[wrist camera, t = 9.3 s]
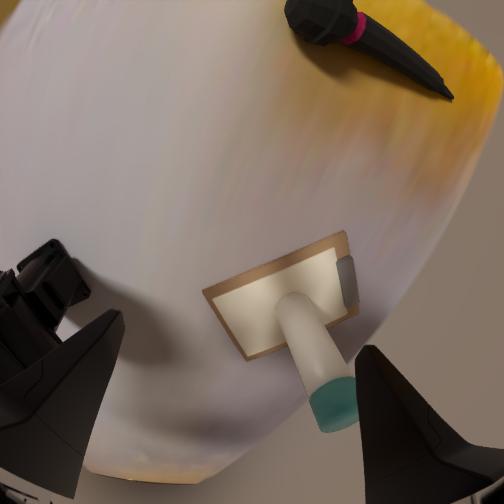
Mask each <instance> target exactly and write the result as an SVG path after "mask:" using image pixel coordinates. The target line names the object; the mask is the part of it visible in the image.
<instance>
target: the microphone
mask: <svg viewBox="0 0 504 504" xmlns="http://www.w3.org/2000/svg"><path fill="white" fill-rule="evenodd" d="M284 12H285V15H286V18H287V21H288V24H289V27H290V28H292V29H293V30H294V31H295V32H296V33H298V34H300V35H301V36H303V37H304V41H305V42H308V43H311V44H315V45H320V46H326V45H327V44H329V43H337V42H339V41H341V42H342V44H344V45H347V46H349V47H351V48H354V49H356V50H358V51H360V52H363V53H365V54H367V55H369V56H371V57H373V58H375V59H377V60H379V61H381V62H383V63H385V64H387V65H389V66H391V67H392V68H394V69H396V70H398V71H400V72H401V73H403V74H405V75H406V76H408V77H410V78H411V79H413V80H415V81H416V82H418V83H420V84H421V85H423V86H424V87H426V88H427V89H429V90H431V91H435V92H438V93H441V94H442V95H444V96H446V97H447V98H449V99H451V100H452V99H454V96H453V95H452V93H451V92H450V91H449V90H448V88H447V87H446V86H445V85H444V81H443V78H441V76H440V75H439V73H438V72H437V71H436V70H435V69H434V68H433V67H432V66H431V65H430V64H428V63H427V62H426V61H425V60H424V59H423V58H422V57H421V56H420V55H419V54H417V53H416V52H415V51H414V50H413V49H412V48H410V47H409V46H408V45H407V44H406V43H404V42H403V41H402V40H401V39H399V38H398V37H397V36H395V35H394V34H393V33H392V32H390V31H389V30H388V29H386V28H385V27H383V26H382V25H381V24H379V23H378V22H376V21H375V20H373V19H372V18H370V17H369V16H367V15H366V14H364V13H363V12H357V9H356V7H355V6H354V4H353V0H287V1H286V4H285V8H284Z"/></svg>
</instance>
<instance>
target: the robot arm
mask: <svg viewBox="0 0 504 504" xmlns="http://www.w3.org/2000/svg"><path fill="white" fill-rule="evenodd" d="M52 243H53V244H54V246H53V245H52ZM21 267H22V268H21ZM17 270H18V271H19V275H18V276H17V277H15V273H14V271H13V269H12V268H11V269H10V270H8V271H5V272H3V271H0V504H53V503H52V502H51V497H52V493H56V494H59V495H62V496H64V497H67V498H71V499H74V496H75V492H76V487H77V483H78V479H79V475H80V471H81V467H82V464H83V460H84V456H85V452H86V449H87V446H88V442H89V439H90V436H91V432H92V429H93V426H94V423H95V420H96V417H97V414H98V411H99V408H100V405H101V402H102V400H103V397H104V394H105V391H106V389H107V386H108V383H109V380H110V378H111V375H112V373H113V370H114V367H115V364H116V360H117V356H118V353H119V349H120V345H121V342H122V338H123V335H124V331H125V325H124V320H123V315H122V312H121V311H120V310H116V309H109V310H108V311H106V312H105V313H103V314H102V315H100V316H99V317H98V318H96V319H95V320H93V321H92V322H91V323H89V324H88V325H86V326H85V327H84V328H82V329H81V330H79V331H78V332H77V333H75V334H74V335H72V336H71V337H70V338H68V339H67V340H66V341H64V342H62V340H61V339H60V338H59V337H58V336H57V334H56V331H57V329H58V327H59V325H60V323H61V321H62V319H63V317H64V315H65V313H66V311H67V309H68V307H70V306H72V305H74V304H76V303H79V302H81V301H83V300H85V299H87V298H89V296H90V294H91V291H90V289H89V288H88V287H87V285H86V284H85V283H84V281H83V280H82V278H81V277H80V275H79V274H78V272H77V271H76V269H75V268H74V266H73V265H72V263H71V262H70V260H69V259H68V257H67V256H66V254H65V253H64V251H63V250H62V248H61V247H60V245H59V243H58V242H57V240H55V239H51V240H49V241H48V242H46V243H45V244H44V245H42V246H41V247H39V248H38V249H37V250H35V251H34V252H33V253H31V254H30V255H29V256H27V257H26V258H25V259H23V260H22V261H21V262H19V264H18V265H17ZM84 292H86V293H87V294H86V293H84ZM355 379H356V398H357V406H358V414H359V422H360V430H361V439H362V450H363V462H364V476H365V498H366V499H365V500H366V504H504V449H497V448H489V447H482V446H476V445H473V444H470V443H468V442H467V441H465V440H464V439H463V438H462V437H461V436H460V435H459V434H458V433H457V432H456V431H455V430H454V429H453V428H452V427H450V426H449V425H448V424H447V423H446V422H445V421H444V420H443V419H442V418H441V417H440V416H439V415H438V414H437V413H436V411H434V409H433V408H432V407H431V406H430V405H429V404H428V403H427V401H425V399H424V398H423V397H422V396H421V395H420V394H419V393H418V392H417V390H416V389H415V388H414V387H413V386H412V385H411V384H410V383H409V382H408V380H407V379H406V378H405V377H404V376H403V375H402V374H401V373H400V372H399V371H398V369H397V368H396V367H395V366H394V365H393V364H392V363H391V362H390V361H389V360H388V359H387V358H386V357H385V355H384V354H383V353H382V352H381V351H380V350H379V349H378V348H377V347H376V346H375V345H364V346H363V348H362V349H361V351H360V352H359V354H358V355H357V357H356V359H355Z"/></svg>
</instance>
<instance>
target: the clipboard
mask: <svg viewBox="0 0 504 504" xmlns="http://www.w3.org/2000/svg"><path fill="white" fill-rule="evenodd" d="M293 292H300V293H303V294H305V295H306V296H307V297H308V298H309V300H310V301H311V303H312V305H313V307H314V308H315V310H316V312H317V314H318V315H319V317H320V319H321V320H322V322H323V324H324V326H325V327H326V329H327V328H329V327H332V326H334V325H336V324H338V323H340V322H342V321H344V320H346V319H348V318H350V317H352V316H354V315H356V314H358V313H359V309H358V302H359V297H358V290H357V283H356V276H355V270H354V264H353V258H352V257H351V256H350V251H349V246H348V241H347V236H346V232H345V231H344V230H343V231H341V232H338V233H336V234H334V235H332V236H329V237H327V238H325V239H322V240H320V241H318V242H315V243H313V244H311V245H308V246H306V247H304V248H302V249H299V250H297V251H295V252H292V253H290V254H288V255H285V256H283V257H280V258H278V259H276V260H273V261H271V262H269V263H266V264H264V265H262V266H259V267H257V268H254V269H252V270H250V271H247V272H245V273H243V274H240V275H238V276H235V277H233V278H231V279H228V280H226V281H223V282H221V283H218V284H216V285H214V286H211V287H209V288H206V289H204V290H202V293H203V295H204V296H205V298H206V299H207V301H208V303H209V304H210V306H211V308H212V309H213V311H214V312H215V314H216V316H217V317H218V319H219V320H220V322H221V324H222V325H223V327H224V328H225V330H226V331H227V333H228V335H229V336H230V338H231V339H232V341H233V342H234V344H235V345H236V347H237V348H238V350H239V351H240V353H241V354H242V356H243V357H244V359H245V360H246V362H248V361H250V360H253V359H256V358H258V357H261V356H264V355H266V354H269V353H271V352H274V351H276V350H279V349H281V348H284V347H286V346H288V344H287V342H286V339H285V336H284V334H283V331H282V329H281V326H280V324H279V321H278V319H277V316H276V314H275V306H276V304H277V302H278V301H279V300H280V299H281V298H282V297H283V296H285V295H287V294H289V293H293Z"/></svg>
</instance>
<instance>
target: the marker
mask: <svg viewBox="0 0 504 504" xmlns="http://www.w3.org/2000/svg"><path fill="white" fill-rule="evenodd" d="M275 314H276V316H277V319H278V321H279V324H280V326H281V329H282V331H283V334H284V336H285V339H286V342H287V344H288V347H289V349H290V352H291V354H292V357H293V359H294V362H295V364H296V367H297V369H298V372H299V374H300V377H301V379H302V382H303V384H304V387H305V389H306V392H307V394H308V397H309V403H310V405H311V408H312V410H313V413H314V415H315V418H316V420H317V423H318V425H319V428H320V430H321V431H322V432H325V433H329V432H335V431H339V430H342V429H344V428H347V427H349V426H351V425H352V424H354V423H356V422H357V421H359V414H358V406H357V398H356V379H355V378H354V377H353V375H352V373H351V372H350V370H349V368H348V366H347V364H346V363H345V361H344V359H343V357H342V356H341V354H340V352H339V350H338V348H337V347H336V345H335V343H334V341H333V340H332V338H331V336H330V334H329V333H328V331H327V329H326V327H325V326H324V324H323V322H322V320H321V319H320V317H319V315H318V314H317V312H316V310H315V308H314V307H313V305H312V303H311V301H310V300H309V298H308V297H307V296H306V295H305V294H303V293H300V292H293V293H289V294H287V295H285V296H283V297H282V298H281V299H280V300H279V301H278V302H277V304H276V306H275Z"/></svg>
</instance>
